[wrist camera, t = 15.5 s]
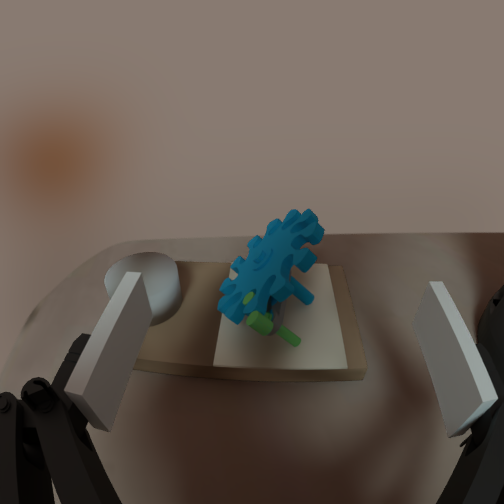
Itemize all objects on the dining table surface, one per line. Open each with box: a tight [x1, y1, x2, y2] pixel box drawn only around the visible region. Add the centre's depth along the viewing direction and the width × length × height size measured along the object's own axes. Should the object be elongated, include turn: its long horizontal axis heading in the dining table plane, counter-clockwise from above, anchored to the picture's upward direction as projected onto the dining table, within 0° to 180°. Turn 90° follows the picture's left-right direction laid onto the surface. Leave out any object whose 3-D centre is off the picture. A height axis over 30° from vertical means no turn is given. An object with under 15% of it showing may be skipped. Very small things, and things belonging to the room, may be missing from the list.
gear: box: [217, 209, 324, 347], centre depth 24 cm, size 11×6×10 cm
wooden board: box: [104, 252, 368, 382], centre depth 25 cm, size 20×12×4 cm, turn 87°
